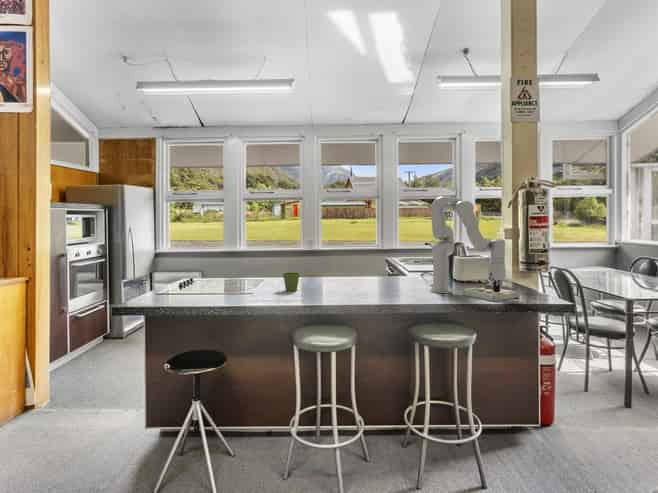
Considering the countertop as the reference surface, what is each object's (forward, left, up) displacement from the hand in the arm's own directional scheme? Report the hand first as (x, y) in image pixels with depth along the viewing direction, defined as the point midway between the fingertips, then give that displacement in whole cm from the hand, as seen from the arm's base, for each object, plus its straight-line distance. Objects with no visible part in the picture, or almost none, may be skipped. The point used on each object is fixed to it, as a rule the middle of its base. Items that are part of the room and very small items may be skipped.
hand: (496, 291), depth 238 cm
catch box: (-6, -3, -4) cm, 8 cm away
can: (-27, +33, -4) cm, 43 cm away
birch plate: (-6, +8, -4) cm, 11 cm away
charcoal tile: (-12, +9, -1) cm, 15 cm away
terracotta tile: (+1, -4, -1) cm, 5 cm away
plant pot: (-84, -93, -4) cm, 125 cm away
